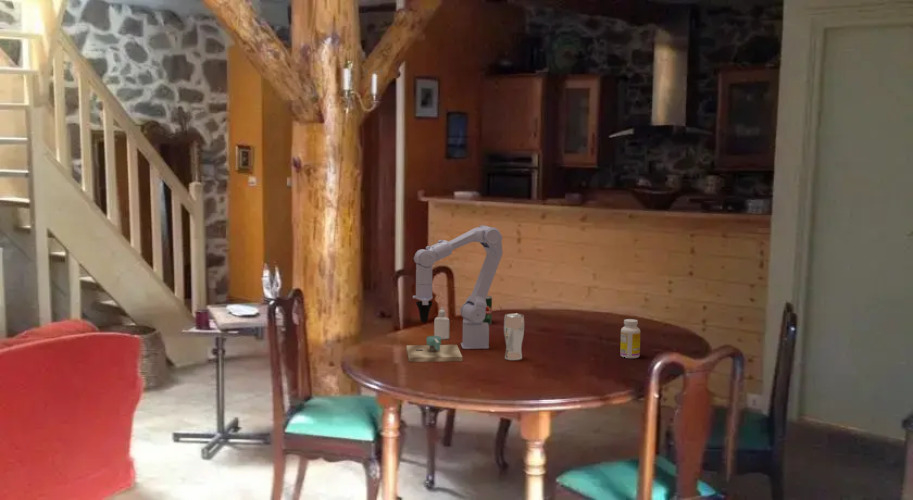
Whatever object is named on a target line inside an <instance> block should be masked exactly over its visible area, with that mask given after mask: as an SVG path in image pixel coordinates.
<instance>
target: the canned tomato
mask: <svg viewBox="0 0 913 500" xmlns="http://www.w3.org/2000/svg"><path fill="white" fill-rule="evenodd" d="M486 304H487V307H486V310H485V313H486V316H485V319H484V320H483V322H484V323H488V325H489V326H490V325H492V323H493V322H492V321H493V320H492V319H493V317H492V315H493V314H492V313H493V309H492V307H493V305H492V304H493V296H492V295H487V297H486Z"/></svg>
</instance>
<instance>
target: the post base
mask: <svg viewBox="0 0 913 500" xmlns="http://www.w3.org/2000/svg"><path fill="white" fill-rule="evenodd" d="M406 353H407V359H408V362H409V363H422V362H423V363H425V362H426V363H427V362H428V363H429V362H430V363H431V362H432V363H433V362H438V363H439V362H440V363H441V362H463V355H462V353H461V351H460V348H459V347H458V344H441V345H440V350H436V349H435V347H434V346H428V345H427V344H423V345H422V344H418V345H417V344H415V345H413V344H412V345H410V344H409V345H408V344H407V345H406Z"/></svg>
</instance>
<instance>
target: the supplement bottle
mask: <svg viewBox="0 0 913 500" xmlns="http://www.w3.org/2000/svg"><path fill="white" fill-rule="evenodd" d="M638 324H639V322H638V319H632V318H627V319H623V325H624V326H623V327H621V329H620V347H619V348H620V349H619V350H620V351H619V353H620V357H622V358H624V357H625V359H638V358H639V357H640V354H641V353H640V352H641V329H640V328H639V327H638Z"/></svg>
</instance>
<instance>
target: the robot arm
mask: <svg viewBox="0 0 913 500" xmlns="http://www.w3.org/2000/svg"><path fill="white" fill-rule="evenodd" d="M503 239H504V238H503V235H502V233H501V232H500V230H499V229H498V228H496V227H493V226H492V227H491V226H487V225H485V224H484V225H479V226H478V227H474V228H472V229H470V230H468V231H466V232H464V233H462V234H460V235H459V236H456V237H455V238H453V239H451V240H449V241H448V240H446V239H439V240H438V241H437V243H434V244H432V245H427V246H426V247H425V249H423V248H422V249H418V250H417V251H416V252H415V254H414V256H413V260H414V263H415V268H416V269H415V295H412V299H416V301H415V303H416V307H417V309H418V313H419V319H420V322H421V323H428V319H429V316H430V315H429V314H430V311H431V308H432V306H433V301H432V299H434V297H433V266H434V264H435V263H436V262H438V261H440V260H442V259H445V258H447V257H449V256H451V255H452V253H453V251H454V250H456V249H458V248H460V247H463V246H465V245H468V244H471V243H479V244H481V246H482V248H483V249H484V251H485V253H486V255H485V257H484V258H485V259H484V261H483V263H482V267H481V269H480V271H479V274H478V277H477V279H476V282H475V284H474V288H473V290H472V293H471V294H470V295H469V296H468V297H467V298H466V300H465V302H464V303H463V304H462V305H461V307H460V315H461V317H462V318H463V319H462V342H460V346H461V348H462V349H463V350H465V349H466V350H471V349H473V350H475V349H476V350H479V349H482V350H483V349H489V348H490V346H489V344H490V343H489V342H490V338H489V337H490V324H489V325H488V323H484V322H483V320H484V319H485V316H486V313H485V310H486V307H487V304H486V297H487V296H488V294H489V291H490V288H491V286H492V283H493V280H494V278H495V276H496V273H497V270H498V268H499V265H500V262H501V259H502V257H503V252H504V251H503V242H502V240H503Z"/></svg>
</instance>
